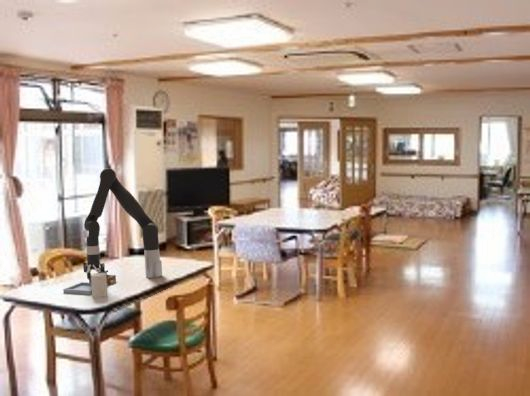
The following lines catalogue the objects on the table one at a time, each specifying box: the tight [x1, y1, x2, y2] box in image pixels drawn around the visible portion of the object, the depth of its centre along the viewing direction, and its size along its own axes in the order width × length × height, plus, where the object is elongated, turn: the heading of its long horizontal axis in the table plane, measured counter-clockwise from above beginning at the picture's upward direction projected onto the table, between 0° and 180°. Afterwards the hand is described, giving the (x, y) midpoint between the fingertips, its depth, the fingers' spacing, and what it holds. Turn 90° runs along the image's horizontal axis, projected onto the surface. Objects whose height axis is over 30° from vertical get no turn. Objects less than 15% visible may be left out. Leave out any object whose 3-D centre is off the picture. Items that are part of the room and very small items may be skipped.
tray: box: [63, 281, 109, 296], centre depth 340 cm, size 18×16×2 cm
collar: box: [88, 274, 117, 286], centre depth 354 cm, size 13×11×4 cm
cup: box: [91, 272, 109, 299], centre depth 325 cm, size 8×8×12 cm
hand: (94, 279), depth 356 cm, fingers open, 7 cm apart
